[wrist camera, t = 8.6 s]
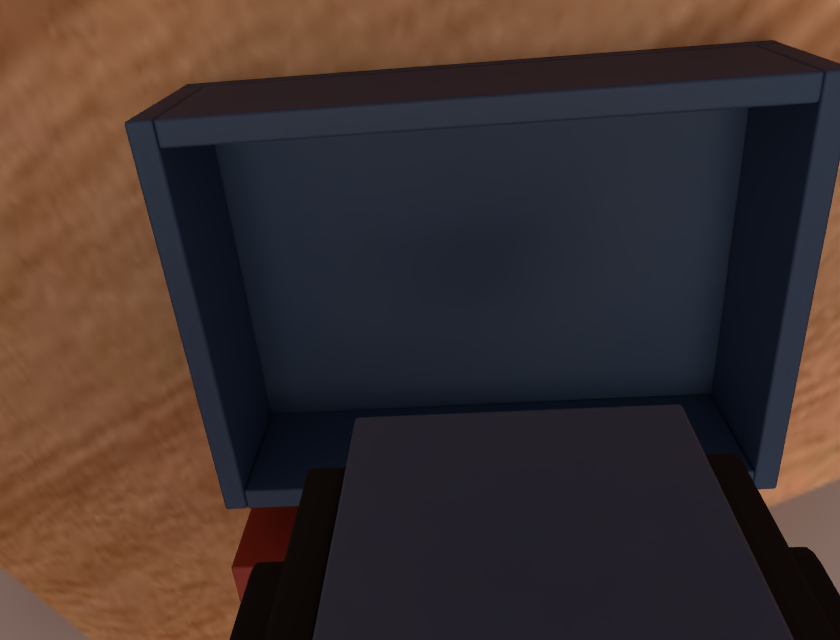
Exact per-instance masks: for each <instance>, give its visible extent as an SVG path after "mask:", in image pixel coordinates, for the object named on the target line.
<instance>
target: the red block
mask: <svg viewBox="0 0 840 640" xmlns="http://www.w3.org/2000/svg"><path fill="white" fill-rule="evenodd" d="M298 507H299V506H289V507H262V508H251V511H250V514H249V517H248V520H247V523H246V526H245V529H244V532H243V535H242V538H241V541H240V544H239V547H238V550H237V553H236V556H235V559H234V562H233V565H232V572H233V576H234V579H235V583H236V587H237V590H238V594H239V597H240V601H242V598H243V595H244V592H245V588H246V585H247V582H248V579H249V576H250V573H251V571H252V568H253V567H254V565H255V564H256V563H257V562H278V561H284V560H285V556H286V552H287V549H288V545H289V541H290V537H291V533H292V530H293V526H294V522H295V518H296V514H297V510H298Z"/></svg>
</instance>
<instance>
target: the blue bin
mask: <svg viewBox="0 0 840 640" xmlns="http://www.w3.org/2000/svg"><path fill="white" fill-rule="evenodd" d="M125 128H126V131H127V135H128V139H129V143H130V147H131V150H132V154H133V158H134V162H135V165H136V169H137V173H138V177H139V181H140V184H141V188H142V192H143V196H144V200H145V203H146V207H147V211H148V215H149V218H150V222H151V226H152V230H153V234H154V237H155V241H156V245H157V249H158V253H159V256H160V260H161V264H162V268H163V272H164V275H165V279H166V283H167V287H168V290H169V294H170V298H171V302H172V306H173V309H174V313H175V317H176V321H177V325H178V328H179V332H180V336H181V340H182V343H183V347H184V351H185V355H186V359H187V362H188V366H189V370H190V374H191V378H192V381H193V385H194V389H195V393H196V397H197V400H198V404H199V408H200V412H201V415H202V419H203V423H204V427H205V431H206V434H207V438H208V442H209V446H210V450H211V453H212V457H213V461H214V465H215V468H216V472H217V476H218V480H219V484H220V487H221V491H222V495H223V499H224V503H225V506H226V508H227V509H235V508H246V507H247V506H248V507H249V508H262V507H289V506H299V503H300V499H301V495H302V491H303V488H304V484H305V480H306V476H307V473H308V470H309V469H310V468H336V467H346V464H347V459H348V454H349V449H350V443H351V438H352V433H353V428H354V423H355V420H356V418H359V417H381V416H405V415H430V414H454V413H478V412H502V411H526V410H551V409H575V408H599V407H623V406H647V405H671V404H678V405H681V406H682V407H683V409H684V412H685V414H686V416H687V418H688V420H689V422H690V424H691V426H692V428H693V430H694V432H695V435H696V437H697V439H698V441H699V443H700V445H701V447H702V449H703V451H704V453H705V454H719V453H736V454H737V455H739V457H740V458H741V460H742V462H743V463H744V465H745V467H746V469H747V471H748V473H749V474H750V476H751V478H752V480H753V482H754V484H755V486H756V487H757V489H773V488H776V485H777V480H778V475H779V469H780V464H781V459H782V454H783V449H784V444H785V439H786V433H787V428H788V423H789V418H790V413H791V408H792V403H793V397H794V392H795V387H796V382H797V377H798V372H799V367H800V361H801V356H802V351H803V346H804V341H805V336H806V331H807V325H808V320H809V315H810V310H811V305H812V300H813V295H814V289H815V284H816V279H817V274H818V269H819V264H820V259H821V253H822V248H823V243H824V238H825V233H826V228H827V223H828V217H829V212H830V207H831V202H832V197H833V192H834V187H835V181H836V176H837V171H838V166H839V161H840V64H839V63H836V62H834V61H831V60H828V59H825V58H822V57H819V56H816V55H813V54H810V53H808V52H805V51H802V50H799V49H796V48H793V47H790V46H787V45H784V44H782V43H779V42H776V41H774V40H771V41H758V42H745V43H731V44H718V45H705V46H691V47H678V48H665V49H652V50H638V51H625V52H612V53H599V54H585V55H572V56H559V57H545V58H532V59H519V60H506V61H492V62H479V63H466V64H452V65H439V66H426V67H413V68H399V69H386V70H373V71H359V72H346V73H333V74H320V75H306V76H293V77H280V78H266V79H253V80H240V81H227V82H213V83H200V84H187V85H185V86H184V87H182V88H181V89H179V90H177V91H176V92H174V93H172V94H171V95H169V96H167V97H166V98H164V99H163V100H161V101H159V102H158V103H156V104H154V105H153V106H151V107H149V108H148V109H146V110H144V111H143V112H141V113H139V114H138V115H136V116H134V117H133V118H131V119H130V120H128V121H126V122H125Z"/></svg>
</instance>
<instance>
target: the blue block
mask: <svg viewBox="0 0 840 640" xmlns="http://www.w3.org/2000/svg"><path fill="white" fill-rule="evenodd" d="M312 640H794V639H793V637H792V635H791V632H790V630H789V628H788V626H787V624H786V622H785V620H784V618H783V616H782V614H781V612H780V610H779V607H778V605H777V603H776V601H775V599H774V597H773V595H772V593H771V591H770V589H769V587H768V585H767V582H766V580H765V578H764V576H763V574H762V572H761V570H760V568H759V566H758V564H757V562H756V560H755V557H754V555H753V553H752V551H751V549H750V547H749V545H748V543H747V541H746V539H745V537H744V535H743V532H742V530H741V528H740V526H739V524H738V522H737V520H736V518H735V516H734V514H733V512H732V510H731V507H730V505H729V503H728V501H727V499H726V497H725V495H724V493H723V491H722V489H721V487H720V485H719V482H718V480H717V478H716V476H715V474H714V472H713V470H712V468H711V466H710V464H709V462H708V460H707V457H706V455H705V453H704V451H703V449H702V447H701V445H700V443H699V441H698V439H697V437H696V435H695V432H694V430H693V428H692V426H691V424H690V422H689V420H688V418H687V416H686V414H685V412H684V409H683V407H682V406H681V405H678V404H671V405H647V406H623V407H599V408H575V409H551V410H526V411H502V412H478V413H454V414H430V415H405V416H381V417H359V418H356V420H355V423H354V428H353V433H352V438H351V443H350V449H349V454H348V459H347V464H346V469H345V474H344V480H343V485H342V490H341V495H340V500H339V505H338V510H337V516H336V521H335V526H334V531H333V536H332V541H331V547H330V552H329V557H328V562H327V567H326V572H325V578H324V583H323V588H322V593H321V598H320V603H319V608H318V614H317V619H316V624H315V629H314V634H313V639H312Z"/></svg>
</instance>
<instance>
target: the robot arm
mask: <svg viewBox="0 0 840 640" xmlns="http://www.w3.org/2000/svg"><path fill="white" fill-rule="evenodd" d="M705 455H706V457H707V460H708V462H709V464H710V466H711V468H712V470H713V472H714V474H715V476H716V478H717V480H718V482H719V485H720V487H721V489H722V491H723V493H724V495H725V497H726V499H727V501H728V503H729V505H730V507H731V510H732V512H733V514H734V516H735V518H736V520H737V522H738V524H739V526H740V528H741V530H742V532H743V535H744V537H745V539H746V541H747V543H748V545H749V547H750V549H751V551H752V553H753V555H754V557H755V560H756V562H757V564H758V566H759V568H760V570H761V572H762V574H763V576H764V578H765V580H766V582H767V585H768V587H769V589H770V591H771V593H772V595H773V597H774V599H775V601H776V603H777V605H778V607H779V610H780V612H781V614H782V616H783V618H784V620H785V622H786V624H787V626H788V628H789V630H790V632H791V635H792V637H793V639H794V640H840V595H839V593H838V592H837V590H836V588H835V587H834V585H833V583H832V581H831V580H830V578H829V576H828V574H827V573H826V571H825V569H824V567H823V566H822V564H821V562H820V561H819V560H818V558H817V557H816V555H815V554H814V553H813V552H812V551H811V550H810V549H808V548H807V547H788V545H787V543H786V541H785V539H784V537H783V536H782V534H781V532H780V530H779V528H778V526H777V524H776V523H775V521H774V519H773V517H772V515H771V513H770V511H769V510H768V508H767V506H766V504H765V502H764V500H763V498H762V497H761V495H760V493H759V491H758V489H757V487H756V486H755V484H754V482H753V480H752V478H751V476H750V474H749V473H748V471H747V469H746V467H745V465H744V463H743V462H742V460H741V458H740V457H739V455H737V454H736V453H719V454H705ZM345 469H346V467H336V468H310V469H309V470H308V473H307V476H306V480H305V484H304V488H303V491H302V495H301V499H300V503H299V507H298V510H297V514H296V518H295V522H294V526H293V530H292V533H291V537H290V541H289V545H288V549H287V552H286V556H285V560H284V561H278V562H257V563H256V564H255V565H254V567H253V568H252V571H251V573H250V576H249V579H248V582H247V585H246V588H245V592H244V595H243V598H242V601H241V604H240V608H239V611H238V614H237V617H236V621H235V624H234V627H233V630H232V634H231V637H230V640H312V639H313V634H314V629H315V624H316V619H317V614H318V608H319V603H320V598H321V593H322V588H323V583H324V578H325V572H326V567H327V562H328V557H329V552H330V547H331V541H332V536H333V531H334V526H335V521H336V516H337V510H338V505H339V500H340V495H341V490H342V485H343V480H344V474H345Z"/></svg>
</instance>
